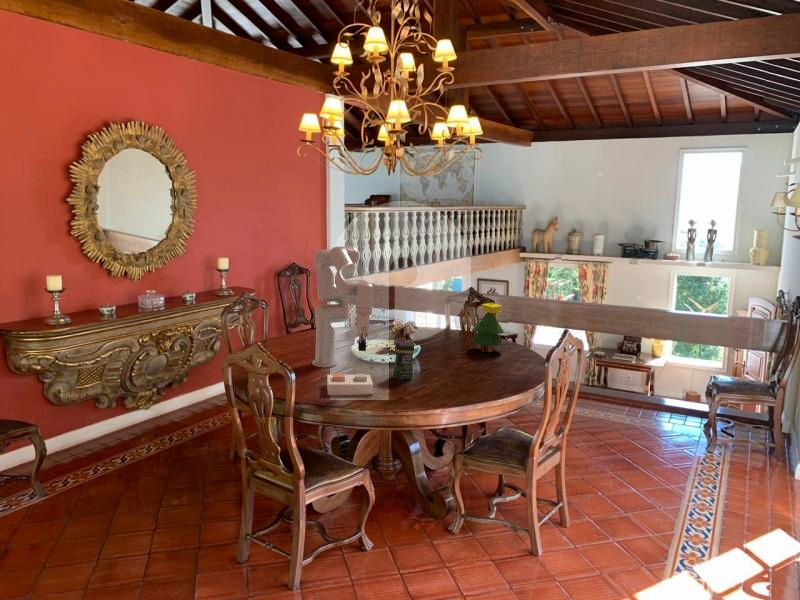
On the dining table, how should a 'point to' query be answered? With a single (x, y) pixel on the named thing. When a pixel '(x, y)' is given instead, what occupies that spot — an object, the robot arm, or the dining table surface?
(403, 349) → the coffee jar
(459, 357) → the dining table surface
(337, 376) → the terracotta button
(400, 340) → the cherub figurine
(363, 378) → the sage button
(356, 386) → the button panel
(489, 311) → the decorative tree
